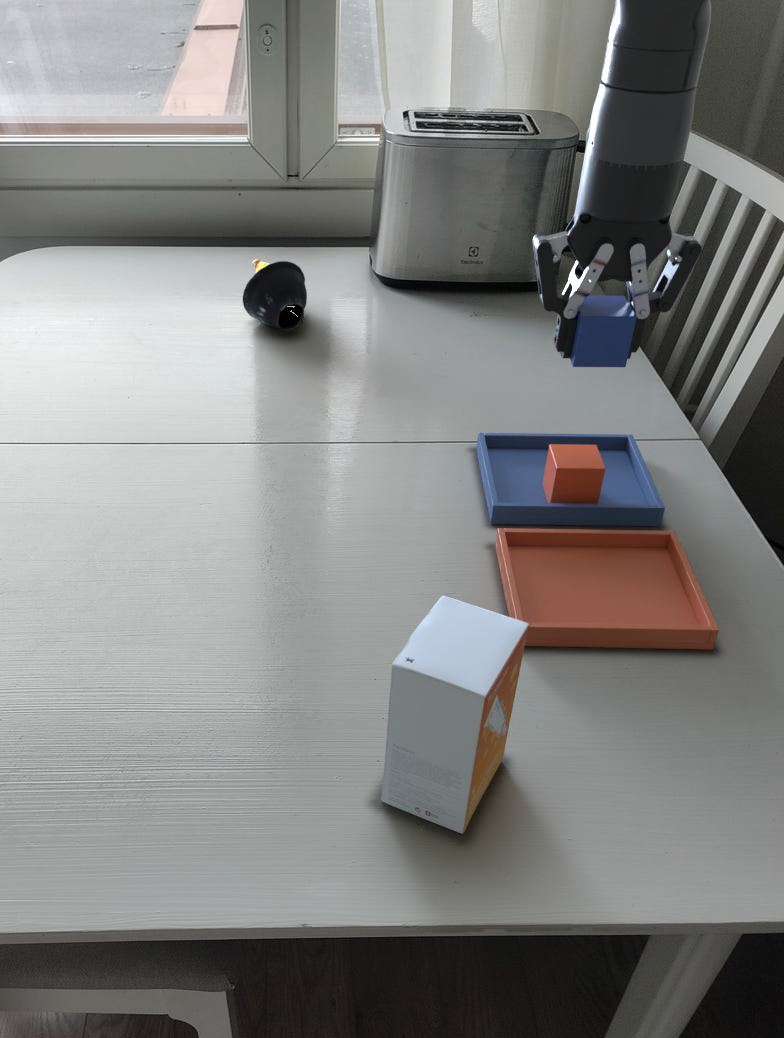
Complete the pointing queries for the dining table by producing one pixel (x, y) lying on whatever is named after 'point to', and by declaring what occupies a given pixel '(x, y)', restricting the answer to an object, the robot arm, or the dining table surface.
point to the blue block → (603, 332)
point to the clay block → (573, 474)
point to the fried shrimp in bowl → (276, 294)
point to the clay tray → (603, 589)
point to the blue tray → (521, 500)
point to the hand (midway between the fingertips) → (594, 354)
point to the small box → (451, 711)
